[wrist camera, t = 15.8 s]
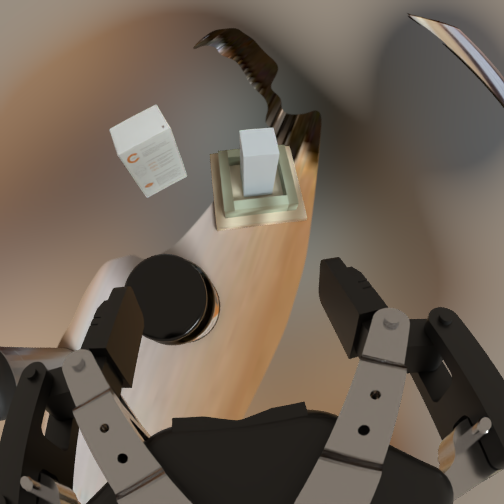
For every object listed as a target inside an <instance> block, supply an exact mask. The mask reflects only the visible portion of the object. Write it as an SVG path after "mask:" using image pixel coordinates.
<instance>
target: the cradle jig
mask: <svg viewBox="0 0 504 504" xmlns="http://www.w3.org/2000/svg"><path fill="white" fill-rule="evenodd" d="M278 149H279V160H278V165H277V170H276V176H275V181H274V186H273V192H272V194H270V195H260V196H251V197H244V195H243V188H242V181H241V174H240V149H233V150H225V151H218V153H215V154H210V161H211V162H210V163H211V173H212V185H213V196H214V206H215V216H216V225H217V231H221V230H229V229H237V228H245V227H253V226H261V225H269V224H277V223H286V222H295V221H303V220H306V219H307V215H306V210H305V206H304V202H303V198H302V194H301V189H300V185H299V181H298V177H297V173H296V169H295V166H294V162H293V158H292V154H291V151H290V147H289V146H287V147H285V145H278Z"/></svg>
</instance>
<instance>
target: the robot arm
mask: <svg viewBox="0 0 504 504" xmlns="http://www.w3.org/2000/svg"><path fill="white" fill-rule="evenodd" d="M319 297H320V301H321V304H322V306H323V308H324V310H325V312H326V313H327V316H328V318H329V320H330V322H331V324H332V326H333V328H334V329H335V332H336V333H337V335H338V338H339V339H340V342H341V344H342V346H343V348H344V350H345V352H346V354H347V356H348V358H349V359H351V358H354V357H359V359H360V361H359V364H358V367H357V370H356V373H355V376H354V378H353V381H352V384H351V386H350V389H349V392H348V395H347V397H346V399H345V402H344V404H343V407H342V409H341V412H340V414H339V416H337V415H334V414H331V413H328V412H324V411H318V410H307V409H306V406H305V402H300V403H296V404H291V405H286V406H281V407H275V408H271V409H269V410H266V411H263V412H261V413H258V414H256V415H253V416H250V417H248V418H245V419H242V420H227V419H218V418H211V417H187V418H172V427H170V428H167V429H164V430H162V431H160V432H158V433H156V434H154V435H153V436H150V435H149V434H148V433H147V431H146V430H145V429H144V427H143V426H142V425H141V423H140V422H139V421H138V419H137V418H136V416H135V415H134V413H133V412H132V410H131V409H130V407H129V406H128V404H127V403H126V401H125V400H124V398H123V397H122V395H121V389H122V388H132V383H133V378H134V372H135V367H136V362H137V357H138V352H139V347H140V343H141V338H142V334H143V329H144V318H143V314H142V312H141V309H140V307H139V304H138V302H137V299H136V297H135V294H134V291H133V289H132V288H131V287H130V286H126V287H118V288H113V290H112V292H111V294H110V296H109V299H108V300H106V301H104V302H103V303H102V304H101V305H100V306H99V307H98V308H97V311H96V313H95V315H94V319H93V320H92V322H91V326H90V327H89V329H88V332H87V334H86V337H85V339H84V342H83V344H82V347H81V349H80V350H76V351H74V352H73V351H72V350H70V349H67V348H23V347H0V421H1V420H6V421H5V425H4V429H3V432H2V437H1V441H0V504H81V503H80V502H79V501H78V499H77V497H76V495H75V493H74V492H73V476H74V464H75V455H76V447H77V439H78V432H79V428H80V430H81V432H82V435H83V437H84V439H85V441H86V443H87V445H88V447H89V449H90V451H91V453H92V455H93V457H94V458H95V460H96V462H97V464H98V466H99V467H100V469H101V471H102V473H103V474H104V476H105V478H106V479H107V481H108V482H107V483H106V484H105V485H104V486H103V487H102V488H101V489H100V490H99V491H98V492H97V493H96V494H95V495H94V496H93V497H92V498H91V499H90V500H89V501H88V502H87V503H86V504H453V501H454V500H456V499H457V498H459V497H460V496H462V495H464V494H465V493H466V492H468V491H470V490H471V489H472V488H474V487H475V486H477V485H478V484H480V483H481V482H483V481H485V480H487V479H488V478H490V477H492V476H494V475H495V474H497V473H498V472H500V471H502V470H503V469H504V380H503V378H502V376H501V375H500V373H499V372H498V370H497V369H496V367H495V366H494V364H493V363H492V361H491V360H490V359H489V357H488V355H487V354H486V353H485V351H484V350H483V348H482V347H481V346H480V344H479V343H478V342H477V340H476V339H475V337H474V336H473V335H472V333H471V332H470V331H469V330H468V328H467V327H466V326H465V324H464V323H463V322H462V320H461V319H460V318H459V317H458V315H457V314H456V313H454V312H453V311H452V310H450V309H447V308H442V307H438V308H435V309H433V310H431V312H430V313H429V316H428V318H427V319H408V317H407V315H406V314H405V313H403V312H402V311H400V310H397V309H394V308H388V306H387V305H386V304H385V302H384V301H383V300H382V299H381V297H380V296H379V295H378V293H377V292H376V291H375V289H374V288H373V287H372V286H371V284H370V283H369V282H368V281H367V279H366V278H365V277H364V275H363V274H362V273H361V272H359V271H358V270H356V269H355V268H353V267H346V265H345V264H344V263H343V261H342V260H341V259H340V258H339V257H336V258H330V259H323V260H321V263H320V278H319ZM442 360H444V362H445V363H446V365H447V367H448V368H449V370H450V372H451V374H452V377H451V375H450V374H449V372H448V370H447V368H446V367H445V365H444V364H443V362H442ZM406 373H410V374H411V376H412V378H413V380H414V382H415V384H416V386H417V388H418V390H419V392H420V394H421V396H422V398H423V400H424V402H425V404H426V406H427V408H428V410H429V413H430V415H431V417H432V419H433V421H434V423H435V425H436V428H437V430H438V432H439V434H440V436H441V439H442V441H441V443H440V445H439V449H438V462H439V464H440V466H439V469H438V468H436V467H434V466H432V465H430V464H428V463H425V462H423V461H421V460H419V459H417V458H415V457H413V456H411V455H409V454H407V453H405V452H403V451H401V450H399V449H397V448H395V447H393V446H391V445H389V443H390V440H391V437H392V433H393V429H394V426H395V422H396V419H397V414H398V410H399V407H400V402H401V398H402V393H403V388H404V383H405V378H406ZM45 410H46V411H47V412H48V413H49V419H48V423H47V428H46V432H45V436H44V435H43V433H42V429H41V425H42V420H43V416H44V412H45Z"/></svg>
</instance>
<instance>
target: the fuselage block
mask: <svg viewBox="0 0 504 504" xmlns="http://www.w3.org/2000/svg"><path fill="white" fill-rule="evenodd" d="M239 133H240V174H241V181H242V188H243V195H244V197H251V196H260V195H270V194H272V192H273V186H274V181H275V176H276V170H277V165H278V160H279V149H278V145H277V141H276V137H275V133H274V129H273V128H262V129H249V130H240V131H239Z"/></svg>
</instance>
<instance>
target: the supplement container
mask: <svg viewBox="0 0 504 504" xmlns="http://www.w3.org/2000/svg"><path fill="white" fill-rule="evenodd" d="M126 286H130V287H131V288H132V289H133V291H134V294H135V297H136V299H137V302H138V304H139V307H140V309H141V312H142V314H143V318H144V329H143V334H142V335H143V336H145V337H146V338H149V339H151V340H154V341H156V342H158V343H161V344H165V345H181V344H185V343H189V342H194V341H197V340H199V339H201V338H203V337H205V336H206V335H207V334H208V333H209V332H210V331H211V330H212V329H213V328H214V326H215V325H216V323H217V320H218V318H219V313H220V300H219V296H218V293H217V291H216V289H215V287H214V286H213V284H212V283H211V281H210V279H209V278H208V276H207V275H206V274H205V272H204V271H203V270H202V269H201V268H200V267H198V266H197V265H196V264H194V263H193V262H191V261H188V260H186V259H183V258H181V257H179V256H176V255H171V254H159V255H155V256H151V257H150V258H147V259H145V260H143V261H142V262H141V263H139V264H138V265H137V266H136V267H135V268H134V269H133V271H132V272H131V273H130V275H129V277H128V279H127V281H126V284H125V287H126Z"/></svg>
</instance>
